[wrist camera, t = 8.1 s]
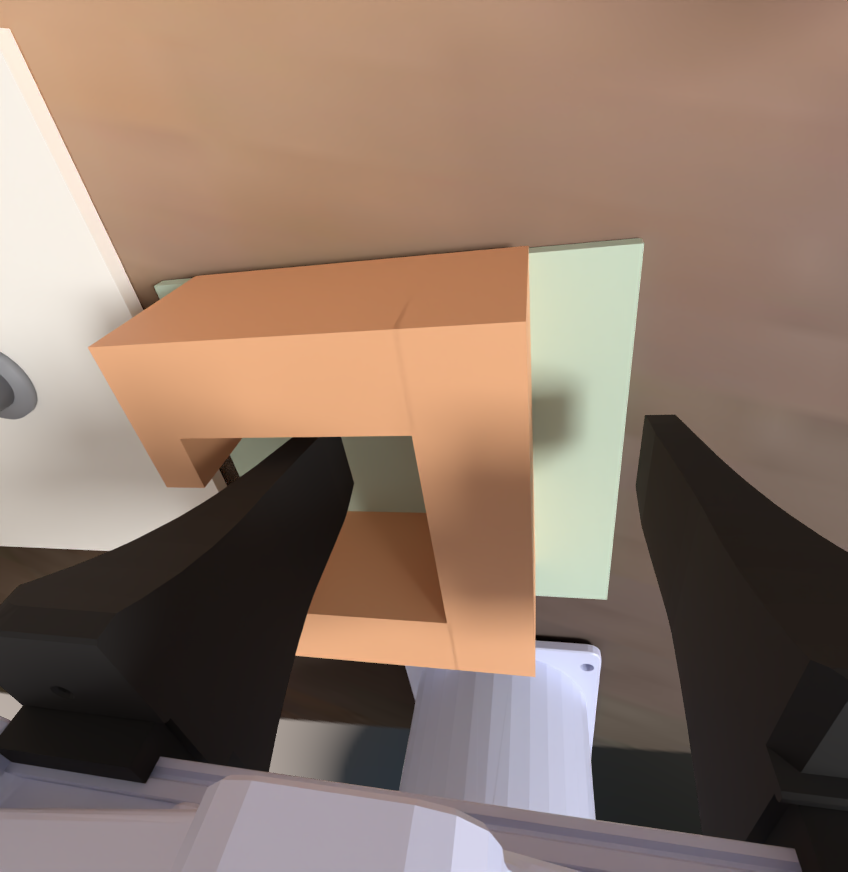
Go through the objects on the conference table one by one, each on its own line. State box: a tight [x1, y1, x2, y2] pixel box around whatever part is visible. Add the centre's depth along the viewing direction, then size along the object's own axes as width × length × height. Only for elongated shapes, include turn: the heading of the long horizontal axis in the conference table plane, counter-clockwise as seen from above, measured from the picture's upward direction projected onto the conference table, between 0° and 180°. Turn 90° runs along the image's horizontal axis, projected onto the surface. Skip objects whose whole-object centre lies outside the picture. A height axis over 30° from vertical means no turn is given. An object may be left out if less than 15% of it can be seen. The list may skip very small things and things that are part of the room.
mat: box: [154, 238, 644, 600], centre depth 16 cm, size 12×12×1 cm
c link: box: [88, 246, 535, 677], centre depth 14 cm, size 8×10×4 cm
